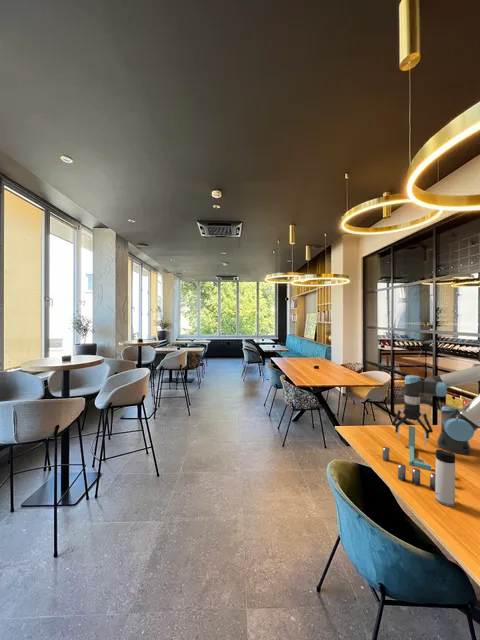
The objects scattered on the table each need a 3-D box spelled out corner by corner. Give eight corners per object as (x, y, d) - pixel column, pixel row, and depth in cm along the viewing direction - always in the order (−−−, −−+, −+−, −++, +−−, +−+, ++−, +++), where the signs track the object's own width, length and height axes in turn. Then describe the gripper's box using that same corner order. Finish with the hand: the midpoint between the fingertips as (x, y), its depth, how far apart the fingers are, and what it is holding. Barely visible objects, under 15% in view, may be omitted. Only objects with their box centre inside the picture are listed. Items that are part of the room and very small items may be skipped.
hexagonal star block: (423, 463, 141) (423, 459, 141) (425, 467, 136) (425, 463, 136) (414, 461, 142) (414, 457, 142) (415, 465, 138) (415, 461, 138)
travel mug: (433, 501, 110) (434, 451, 110) (437, 494, 114) (437, 446, 114) (453, 509, 105) (453, 456, 105) (456, 501, 110) (456, 451, 110)
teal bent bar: (408, 446, 158) (408, 425, 158) (428, 451, 153) (428, 429, 153) (408, 464, 138) (408, 440, 138) (431, 470, 133) (431, 445, 133)
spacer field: (443, 472, 132) (443, 459, 132) (447, 494, 115) (447, 479, 115) (382, 457, 145) (383, 446, 145) (379, 475, 128) (379, 462, 128)
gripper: (387, 401, 160) (386, 438, 160) (439, 408, 147) (438, 449, 147) (388, 398, 167) (387, 433, 167) (437, 405, 154) (437, 443, 154)
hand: (411, 441), depth 157 cm, fingers open, 12 cm apart
